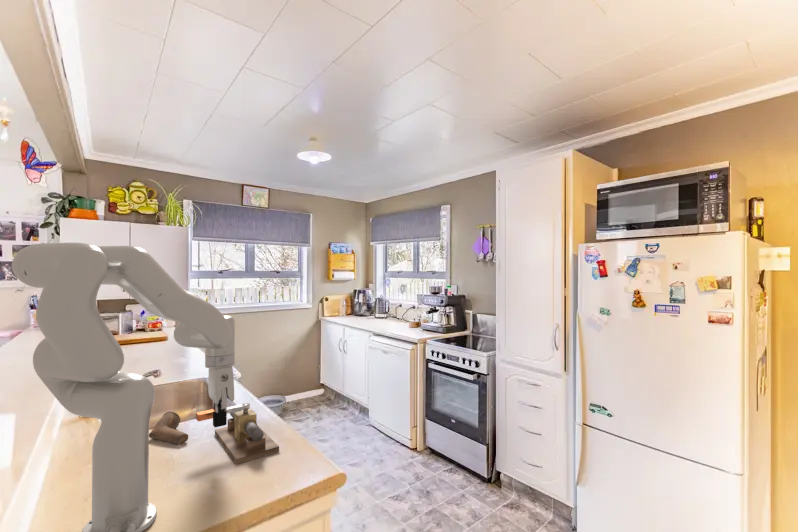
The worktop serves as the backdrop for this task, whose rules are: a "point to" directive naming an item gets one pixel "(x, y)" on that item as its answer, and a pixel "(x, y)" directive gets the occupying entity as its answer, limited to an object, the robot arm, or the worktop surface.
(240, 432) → the valve stand
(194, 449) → the worktop surface
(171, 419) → the pipe
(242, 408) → the valve lever
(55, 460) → the worktop surface
